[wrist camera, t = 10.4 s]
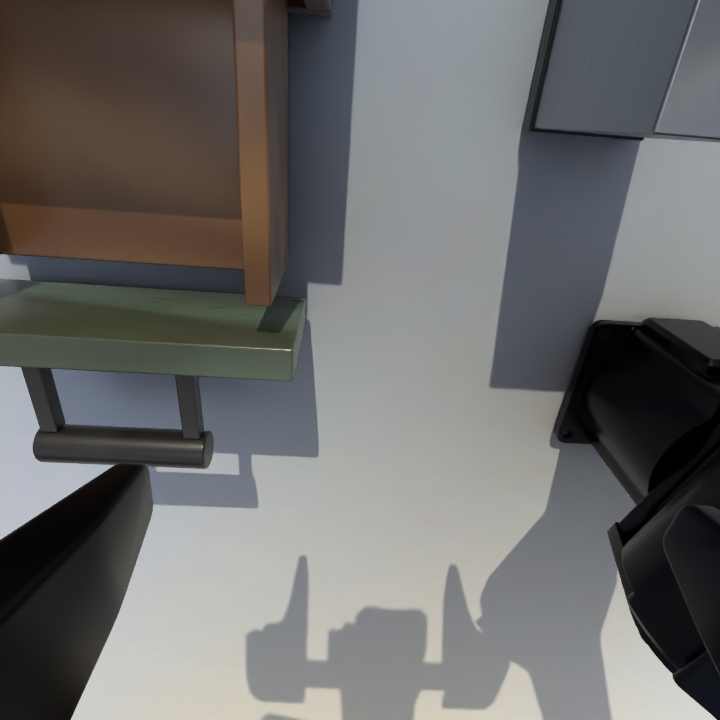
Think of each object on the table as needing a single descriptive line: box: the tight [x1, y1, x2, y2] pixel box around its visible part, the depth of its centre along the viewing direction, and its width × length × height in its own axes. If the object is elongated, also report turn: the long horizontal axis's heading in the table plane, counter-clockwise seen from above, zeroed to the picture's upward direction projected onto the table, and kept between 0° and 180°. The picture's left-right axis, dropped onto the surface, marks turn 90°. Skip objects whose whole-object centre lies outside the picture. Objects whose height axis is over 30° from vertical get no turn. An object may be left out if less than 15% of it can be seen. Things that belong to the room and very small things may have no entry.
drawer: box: [0, 0, 306, 469], centre depth 14 cm, size 19×12×5 cm, turn 176°
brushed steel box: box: [523, 0, 720, 142], centre depth 12 cm, size 5×4×8 cm
